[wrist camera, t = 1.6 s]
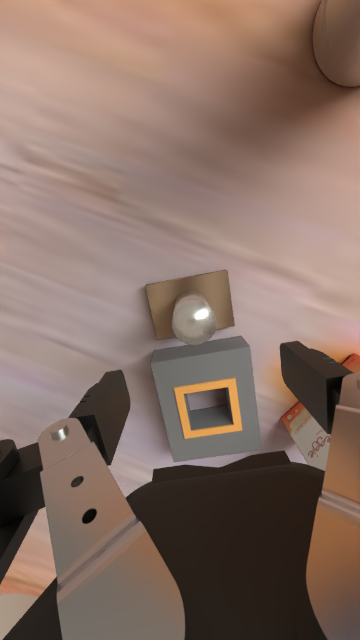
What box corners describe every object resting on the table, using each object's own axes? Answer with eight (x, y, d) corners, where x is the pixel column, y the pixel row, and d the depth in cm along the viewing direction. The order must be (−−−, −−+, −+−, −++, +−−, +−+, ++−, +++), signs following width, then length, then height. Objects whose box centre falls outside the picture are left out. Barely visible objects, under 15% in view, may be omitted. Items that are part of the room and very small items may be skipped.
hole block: (241, 335, 31) (250, 347, 27) (252, 428, 35) (262, 451, 31) (154, 350, 32) (150, 364, 27) (174, 440, 35) (173, 463, 31)
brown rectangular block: (225, 269, 29) (227, 270, 27) (232, 322, 30) (234, 326, 29) (147, 284, 29) (145, 285, 28) (158, 335, 31) (157, 339, 30)
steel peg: (204, 287, 28) (212, 298, 20) (209, 318, 29) (219, 340, 21) (171, 293, 28) (167, 306, 20) (178, 324, 29) (176, 348, 21)
